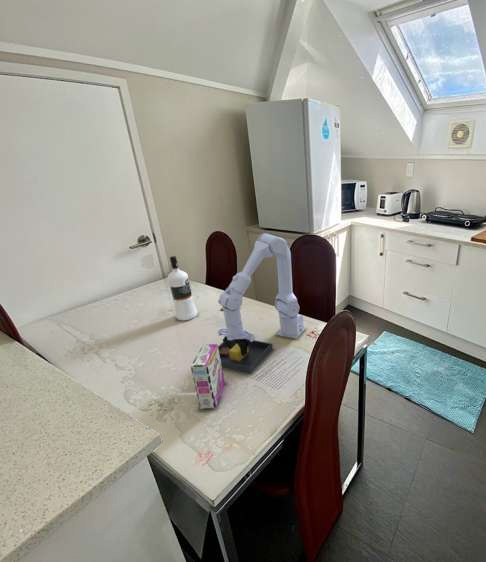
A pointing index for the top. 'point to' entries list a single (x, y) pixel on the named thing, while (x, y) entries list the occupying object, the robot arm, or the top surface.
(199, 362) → the candy bar box
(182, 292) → the vodka
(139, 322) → the top surface
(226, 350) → the scrap
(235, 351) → the sponge
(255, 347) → the dark grey tray
